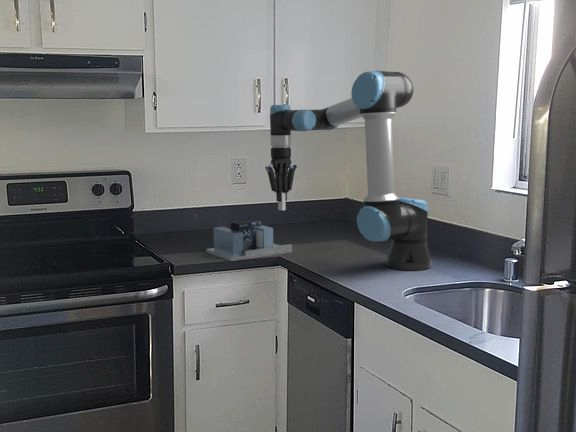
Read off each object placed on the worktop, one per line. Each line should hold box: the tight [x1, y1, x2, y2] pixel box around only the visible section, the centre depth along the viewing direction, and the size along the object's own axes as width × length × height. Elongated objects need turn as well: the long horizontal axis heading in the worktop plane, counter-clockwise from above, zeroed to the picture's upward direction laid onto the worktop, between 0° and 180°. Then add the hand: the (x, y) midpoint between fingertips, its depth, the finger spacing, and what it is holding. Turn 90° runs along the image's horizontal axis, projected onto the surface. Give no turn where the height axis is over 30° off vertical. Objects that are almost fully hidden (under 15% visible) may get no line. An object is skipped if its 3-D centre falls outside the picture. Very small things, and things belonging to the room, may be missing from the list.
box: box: [230, 219, 256, 251], centre depth 271 cm, size 8×6×11 cm
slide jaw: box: [254, 220, 274, 249], centre depth 275 cm, size 14×4×10 cm, turn 35°
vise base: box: [206, 226, 293, 262], centre depth 273 cm, size 18×26×9 cm
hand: (281, 209), depth 279 cm, fingers closed
